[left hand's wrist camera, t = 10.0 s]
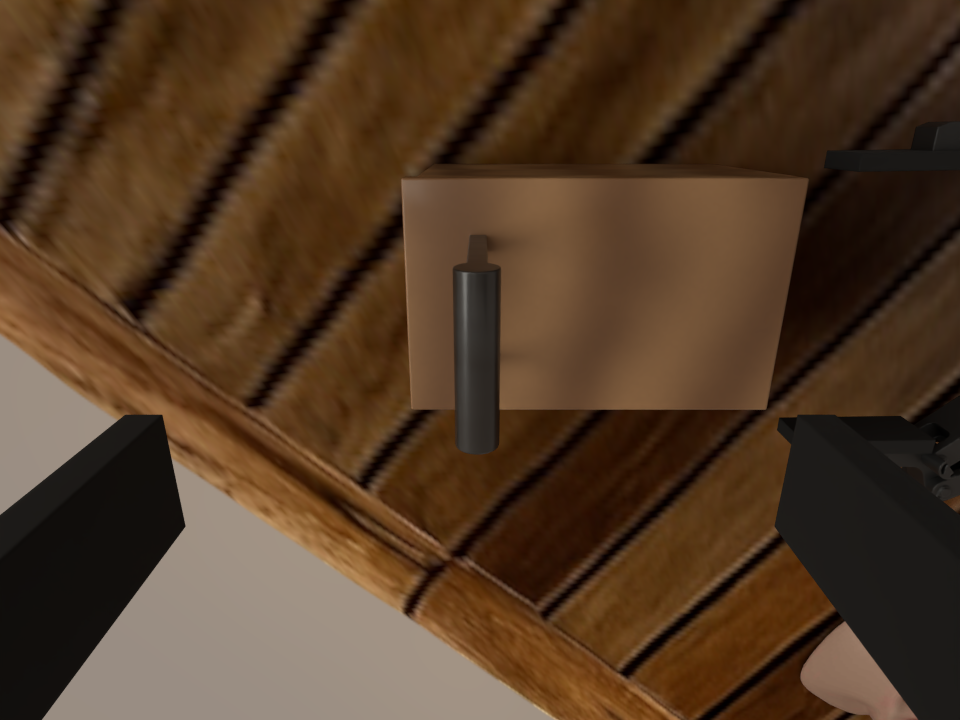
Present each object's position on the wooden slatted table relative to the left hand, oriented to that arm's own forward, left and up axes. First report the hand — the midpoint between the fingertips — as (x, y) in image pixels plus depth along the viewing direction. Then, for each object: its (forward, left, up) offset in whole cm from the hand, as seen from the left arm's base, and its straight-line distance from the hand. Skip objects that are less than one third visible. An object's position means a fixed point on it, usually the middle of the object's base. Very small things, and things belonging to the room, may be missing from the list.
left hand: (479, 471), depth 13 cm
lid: (-3, +4, -14) cm, 15 cm away
